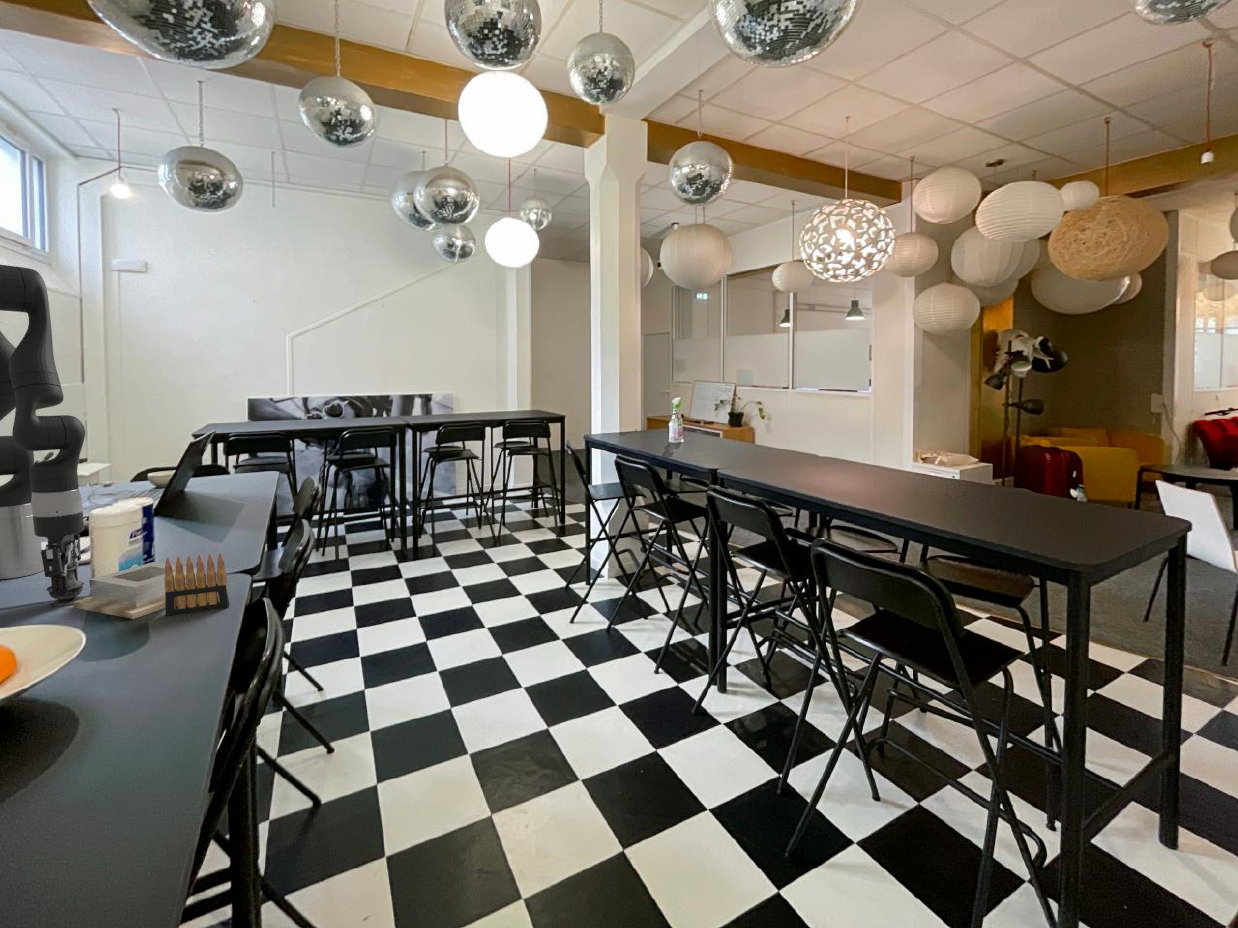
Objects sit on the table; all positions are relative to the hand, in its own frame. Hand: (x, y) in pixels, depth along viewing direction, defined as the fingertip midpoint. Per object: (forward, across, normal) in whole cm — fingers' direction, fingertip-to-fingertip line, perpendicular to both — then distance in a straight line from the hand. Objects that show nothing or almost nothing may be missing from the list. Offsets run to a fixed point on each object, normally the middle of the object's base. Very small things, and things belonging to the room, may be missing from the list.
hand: (66, 588), depth 122 cm
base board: (+3, -4, -14) cm, 15 cm away
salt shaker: (+3, 0, 0) cm, 3 cm away
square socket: (+2, -4, -14) cm, 15 cm away
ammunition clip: (+3, -16, -25) cm, 30 cm away
